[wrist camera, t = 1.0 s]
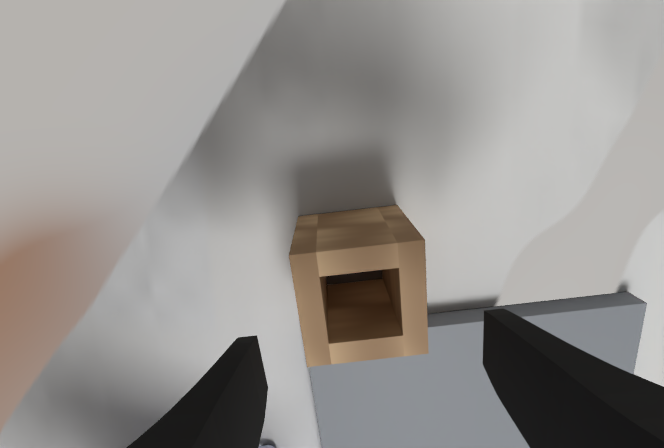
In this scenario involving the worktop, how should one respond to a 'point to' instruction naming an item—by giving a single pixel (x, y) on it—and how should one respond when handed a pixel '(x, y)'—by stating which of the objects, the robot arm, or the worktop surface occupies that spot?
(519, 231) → the worktop surface
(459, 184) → the worktop surface
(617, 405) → the robot arm
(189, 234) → the worktop surface
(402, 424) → the grey flat block
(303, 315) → the oak bead
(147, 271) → the worktop surface
